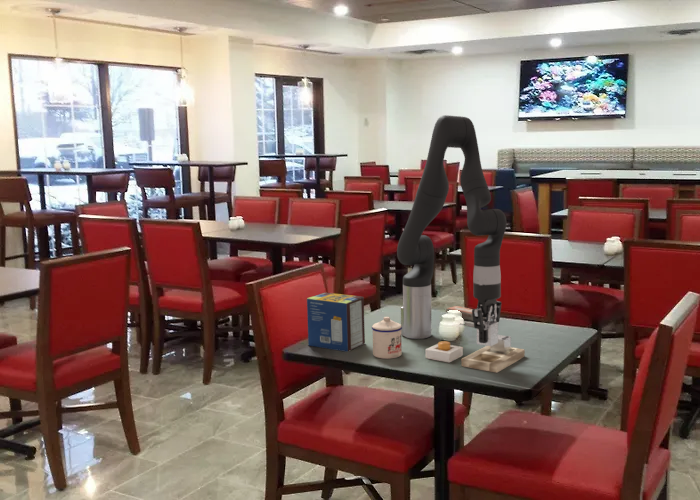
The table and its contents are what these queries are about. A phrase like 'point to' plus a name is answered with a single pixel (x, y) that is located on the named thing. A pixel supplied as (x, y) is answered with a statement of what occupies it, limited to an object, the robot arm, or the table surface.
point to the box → (444, 353)
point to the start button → (444, 345)
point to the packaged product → (465, 314)
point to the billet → (502, 345)
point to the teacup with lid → (387, 339)
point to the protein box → (336, 321)
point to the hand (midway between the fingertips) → (487, 340)
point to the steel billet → (490, 334)
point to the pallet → (492, 359)
